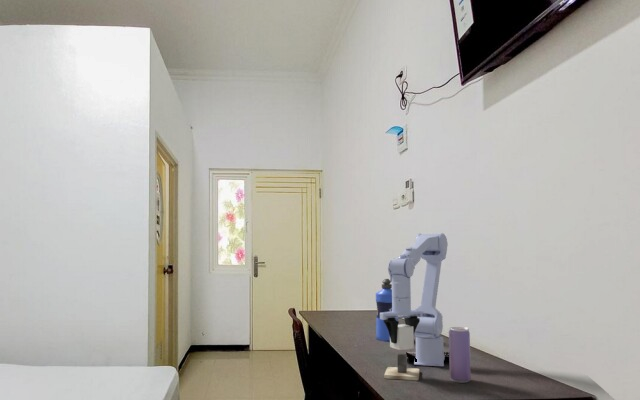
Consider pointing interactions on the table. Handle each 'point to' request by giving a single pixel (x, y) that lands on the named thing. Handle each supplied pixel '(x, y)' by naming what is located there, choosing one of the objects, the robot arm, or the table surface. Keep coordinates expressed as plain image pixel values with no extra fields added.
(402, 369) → the beige square base
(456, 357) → the beverage can
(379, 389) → the table surface
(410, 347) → the white rectangular block
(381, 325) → the water bottle
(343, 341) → the table surface
